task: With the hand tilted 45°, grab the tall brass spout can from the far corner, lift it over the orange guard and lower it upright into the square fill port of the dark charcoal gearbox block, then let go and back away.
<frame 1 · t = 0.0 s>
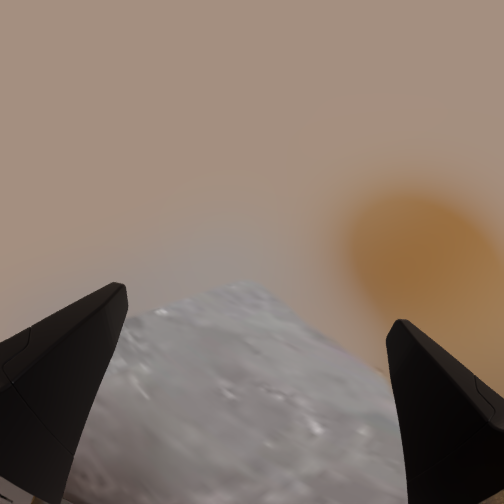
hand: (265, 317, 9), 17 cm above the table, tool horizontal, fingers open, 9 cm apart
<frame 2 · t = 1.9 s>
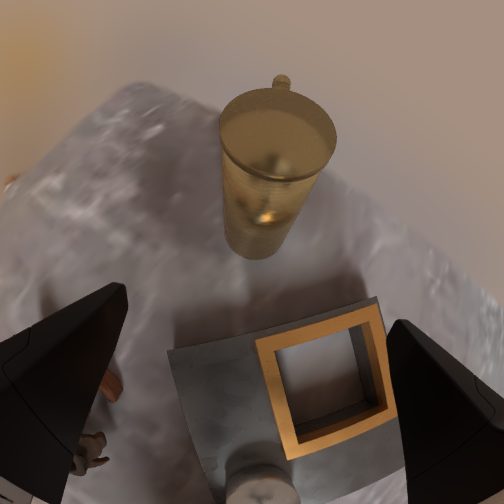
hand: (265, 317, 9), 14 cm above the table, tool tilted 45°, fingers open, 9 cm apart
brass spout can: (254, 230, 24), on the table
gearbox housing: (297, 419, 20), on the table
pottery mug: (75, 395, 19), on the table
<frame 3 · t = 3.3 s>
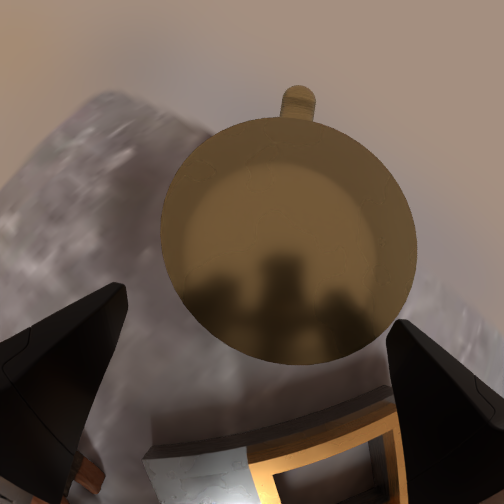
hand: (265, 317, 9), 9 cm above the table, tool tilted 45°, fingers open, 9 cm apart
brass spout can: (250, 304, 18), on the table
pottery mug: (56, 473, 12), on the table
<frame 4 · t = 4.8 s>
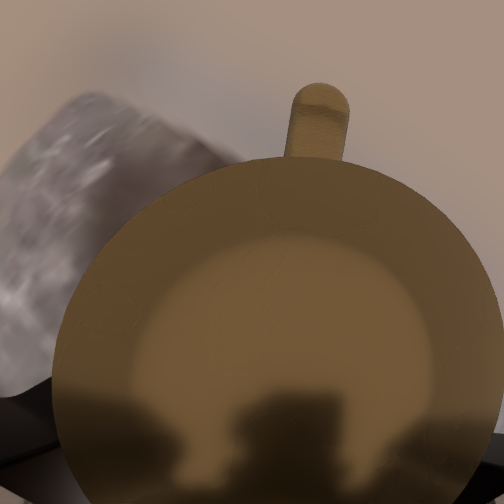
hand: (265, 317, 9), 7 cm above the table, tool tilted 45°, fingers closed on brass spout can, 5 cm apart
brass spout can: (247, 350, 15), on the table, touching gripper
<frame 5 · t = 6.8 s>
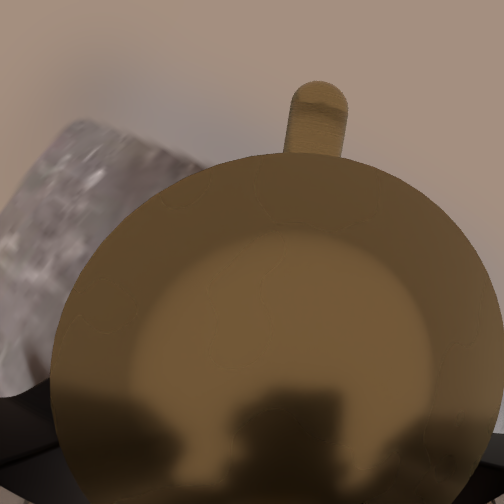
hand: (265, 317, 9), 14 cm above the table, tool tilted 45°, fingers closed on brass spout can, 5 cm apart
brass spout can: (246, 349, 15), point 7 cm above the table, touching gripper
when the fingers open (8 cm above the table, at t = 8.9 s): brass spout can drops 2 cm, resting in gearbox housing.
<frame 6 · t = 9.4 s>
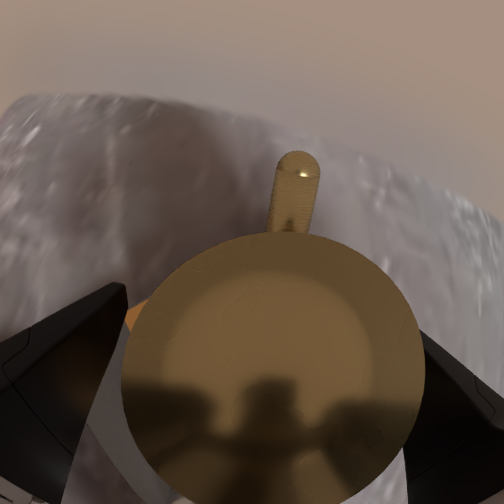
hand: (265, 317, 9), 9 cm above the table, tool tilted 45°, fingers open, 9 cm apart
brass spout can: (243, 349, 16), resting in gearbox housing
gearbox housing: (234, 409, 15), on the table
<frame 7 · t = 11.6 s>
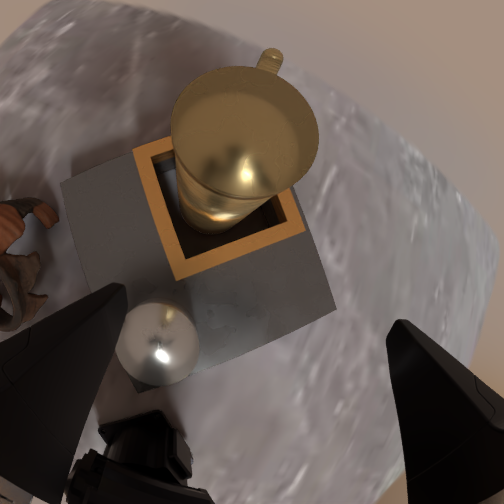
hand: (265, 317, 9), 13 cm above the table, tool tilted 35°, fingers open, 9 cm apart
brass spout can: (211, 201, 22), resting in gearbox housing
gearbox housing: (195, 249, 21), on the table
pottery mug: (17, 249, 18), on the table
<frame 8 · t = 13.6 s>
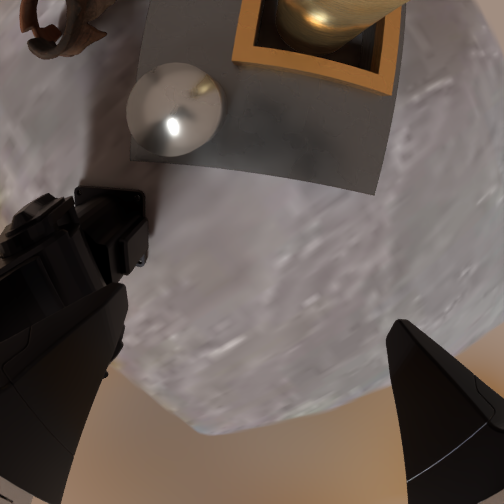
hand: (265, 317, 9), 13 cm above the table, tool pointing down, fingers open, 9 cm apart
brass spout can: (312, 24, 14), resting in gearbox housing
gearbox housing: (271, 54, 15), on the table
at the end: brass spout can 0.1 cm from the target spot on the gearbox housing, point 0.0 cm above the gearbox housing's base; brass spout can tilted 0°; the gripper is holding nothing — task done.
